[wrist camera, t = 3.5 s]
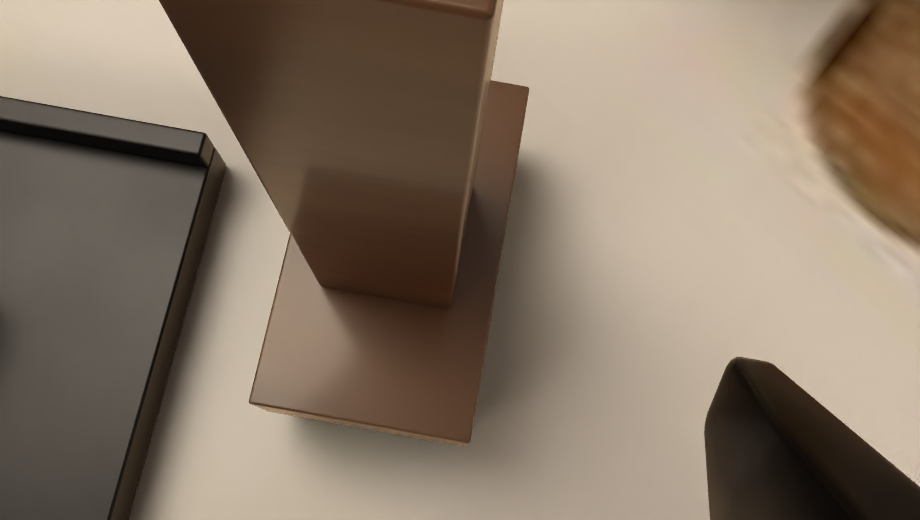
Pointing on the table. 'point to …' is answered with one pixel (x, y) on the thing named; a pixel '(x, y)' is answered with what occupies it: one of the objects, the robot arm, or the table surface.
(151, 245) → the griddle
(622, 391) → the table surface
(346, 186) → the scrub brush
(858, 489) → the robot arm
